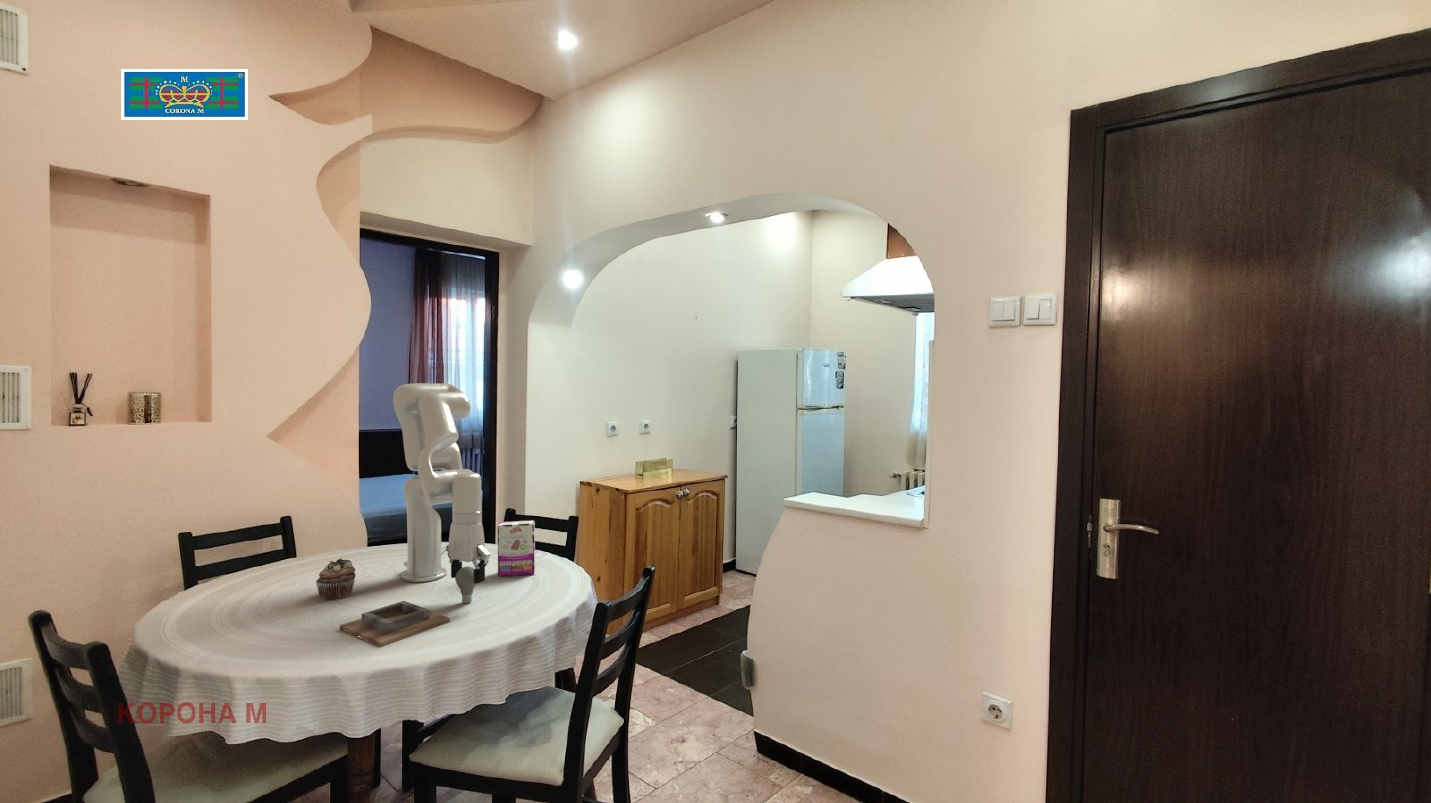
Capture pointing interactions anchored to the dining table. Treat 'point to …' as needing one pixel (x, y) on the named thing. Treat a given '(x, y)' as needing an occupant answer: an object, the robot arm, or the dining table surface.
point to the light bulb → (466, 583)
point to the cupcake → (336, 580)
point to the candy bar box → (516, 548)
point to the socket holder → (394, 623)
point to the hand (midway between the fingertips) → (467, 579)
